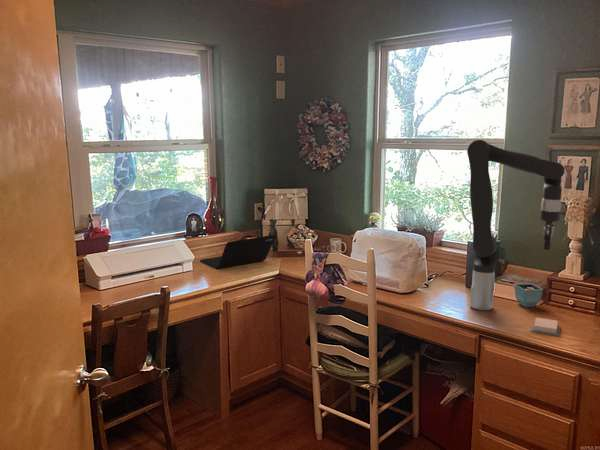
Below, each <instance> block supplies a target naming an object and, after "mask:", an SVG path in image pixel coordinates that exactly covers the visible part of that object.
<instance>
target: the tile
mask: <svg viewBox="0 0 600 450" xmlns="http://www.w3.org/2000/svg"><path fill="white" fill-rule="evenodd" d="M534 322H535V324H534V330H535V331H541V332H547V333H553V334H556V332H557V326H558V320H555V319H549V318H548V319H547V318H541V317H535V320H534Z"/></svg>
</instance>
